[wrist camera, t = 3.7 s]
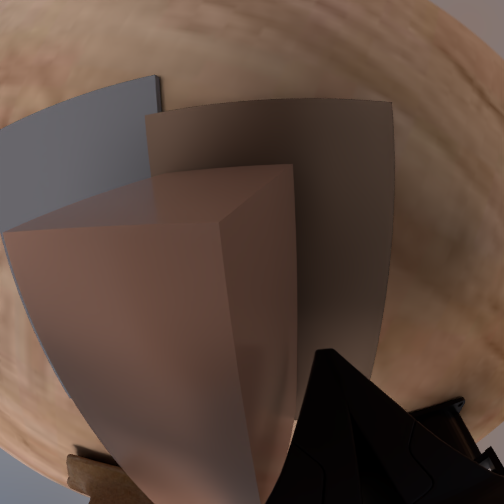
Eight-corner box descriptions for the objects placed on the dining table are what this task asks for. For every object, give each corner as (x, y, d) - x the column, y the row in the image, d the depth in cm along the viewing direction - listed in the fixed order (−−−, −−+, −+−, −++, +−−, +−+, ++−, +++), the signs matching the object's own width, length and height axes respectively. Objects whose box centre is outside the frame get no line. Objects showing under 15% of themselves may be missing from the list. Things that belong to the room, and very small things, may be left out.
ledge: (361, 109, 11) (391, 102, 8) (348, 373, 16) (362, 410, 13) (169, 120, 11) (144, 115, 8) (212, 384, 16) (206, 423, 13)
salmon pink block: (292, 163, 8) (218, 222, 3) (295, 410, 12) (266, 534, 6) (165, 173, 9) (2, 232, 4) (209, 399, 13) (156, 505, 7)
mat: (159, 77, 10) (154, 74, 10) (212, 405, 17) (211, 412, 16) (-8, 136, 11) (-15, 137, 10) (72, 392, 17) (69, 398, 17)
